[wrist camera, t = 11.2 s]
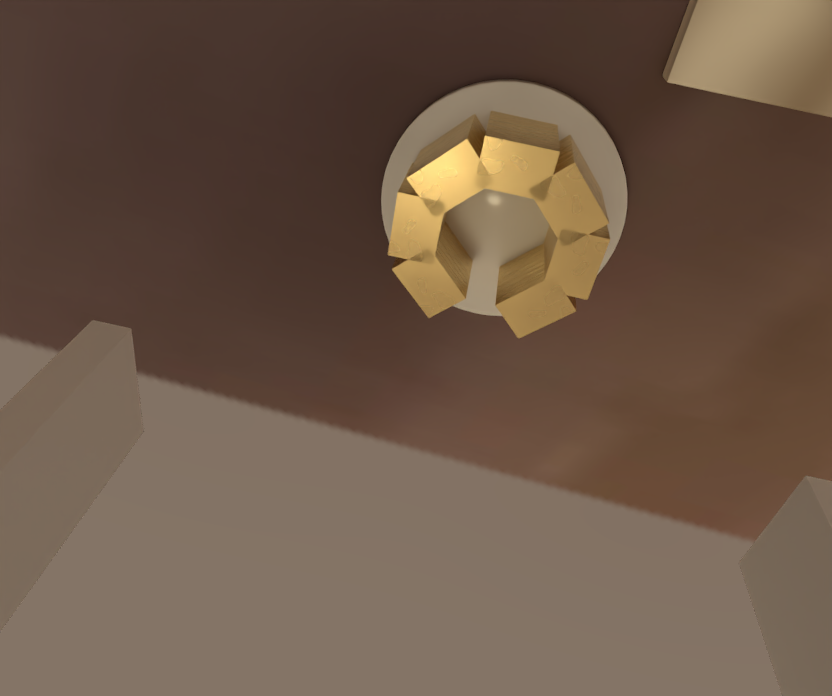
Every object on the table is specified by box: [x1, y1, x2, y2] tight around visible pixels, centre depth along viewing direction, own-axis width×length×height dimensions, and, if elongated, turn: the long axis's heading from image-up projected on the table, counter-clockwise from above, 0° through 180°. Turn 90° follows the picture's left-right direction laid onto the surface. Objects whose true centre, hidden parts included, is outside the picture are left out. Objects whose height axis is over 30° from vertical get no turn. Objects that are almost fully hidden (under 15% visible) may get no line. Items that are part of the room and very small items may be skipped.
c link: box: [388, 111, 610, 339], centre depth 22 cm, size 7×7×3 cm
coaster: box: [381, 79, 627, 316], centre depth 24 cm, size 9×9×1 cm
